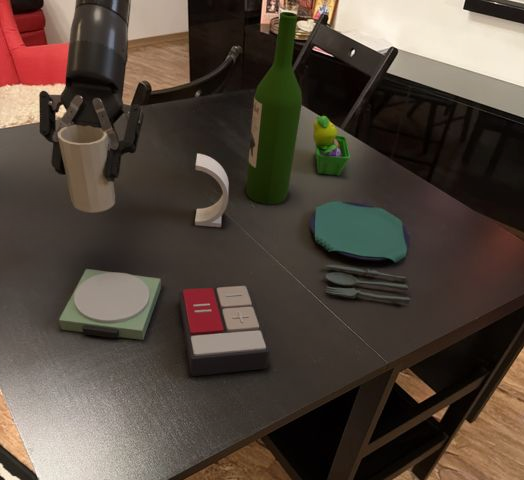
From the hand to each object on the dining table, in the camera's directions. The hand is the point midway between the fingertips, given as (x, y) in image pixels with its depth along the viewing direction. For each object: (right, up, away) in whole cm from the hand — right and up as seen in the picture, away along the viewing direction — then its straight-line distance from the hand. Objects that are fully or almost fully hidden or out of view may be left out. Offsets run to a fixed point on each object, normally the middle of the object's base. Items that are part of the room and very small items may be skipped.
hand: (84, 176), depth 67 cm
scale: (+2, -18, +8) cm, 19 cm away
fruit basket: (+40, +20, +48) cm, 66 cm away
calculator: (+18, -22, +6) cm, 30 cm away
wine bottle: (+26, +9, +36) cm, 45 cm away
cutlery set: (+43, -5, +25) cm, 50 cm away
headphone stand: (+15, +1, +27) cm, 31 cm away
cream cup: (0, -2, +5) cm, 5 cm away
